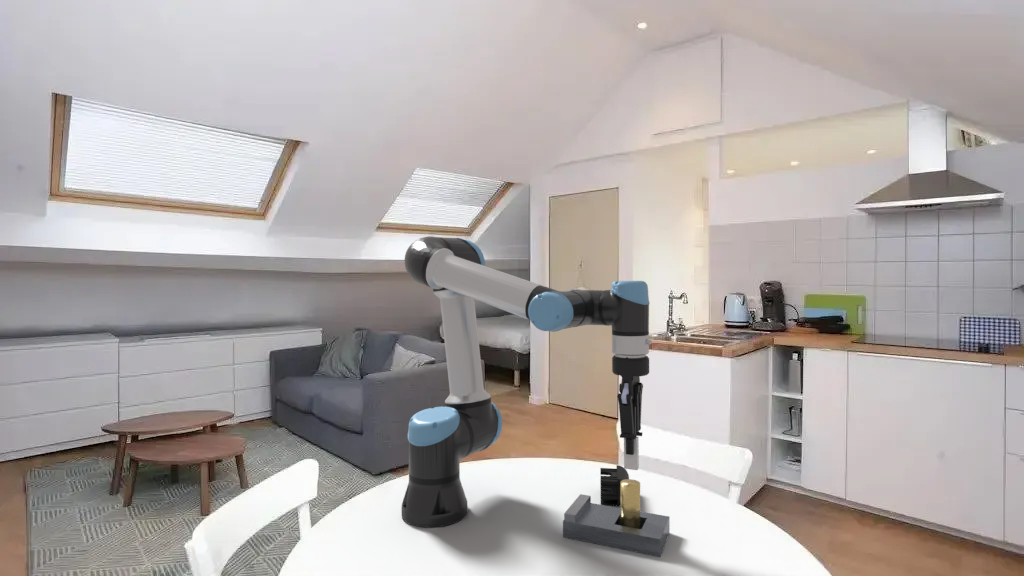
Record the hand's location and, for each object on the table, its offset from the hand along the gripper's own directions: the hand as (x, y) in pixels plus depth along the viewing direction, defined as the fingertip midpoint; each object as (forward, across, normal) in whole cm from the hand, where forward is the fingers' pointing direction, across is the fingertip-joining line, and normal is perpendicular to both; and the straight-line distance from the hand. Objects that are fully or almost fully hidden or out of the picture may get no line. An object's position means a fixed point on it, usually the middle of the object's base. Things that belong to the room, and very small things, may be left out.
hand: (631, 468), depth 115 cm
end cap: (+15, +18, +8) cm, 25 cm away
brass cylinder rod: (+13, 0, 0) cm, 13 cm away
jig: (+15, 0, +3) cm, 15 cm away
